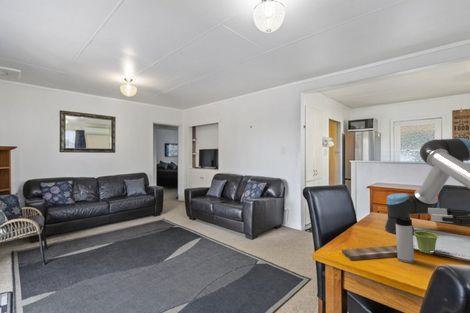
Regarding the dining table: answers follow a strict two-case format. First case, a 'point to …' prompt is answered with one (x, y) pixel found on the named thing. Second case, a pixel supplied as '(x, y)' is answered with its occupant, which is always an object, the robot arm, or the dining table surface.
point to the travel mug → (404, 239)
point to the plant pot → (426, 241)
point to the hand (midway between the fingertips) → (429, 214)
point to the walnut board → (371, 252)
